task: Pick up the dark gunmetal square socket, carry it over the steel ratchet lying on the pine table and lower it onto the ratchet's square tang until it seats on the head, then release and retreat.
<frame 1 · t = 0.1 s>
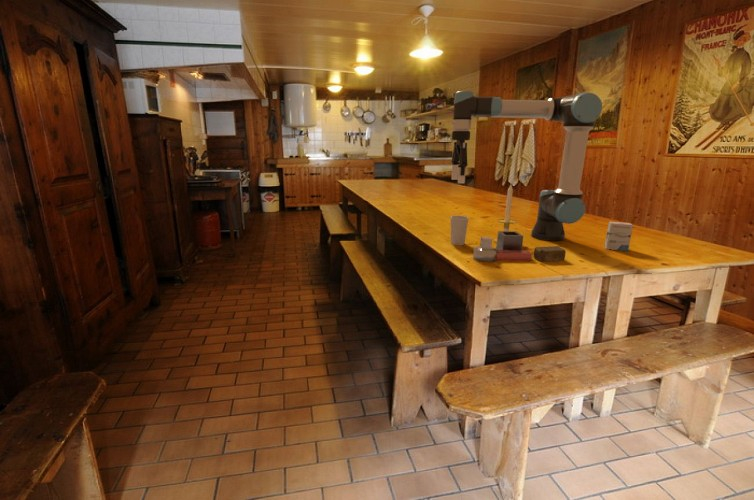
hand: (457, 181, 174), 28 cm above the table, fingers open, 13 cm apart
socket: (508, 251, 170), on the table
cup: (457, 243, 182), on the table
stone block: (548, 260, 161), on the table
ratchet: (504, 258, 160), on the table
ink box: (615, 249, 177), on the table
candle: (504, 241, 186), on the table
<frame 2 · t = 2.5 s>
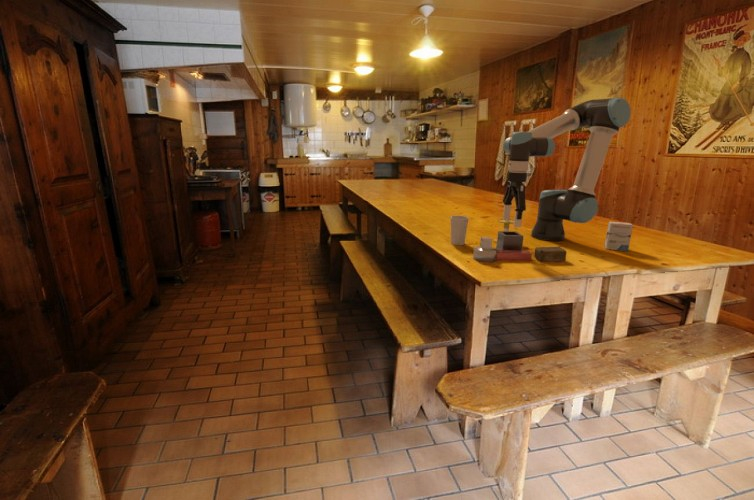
hand: (511, 223, 166), 12 cm above the table, fingers open, 13 cm apart
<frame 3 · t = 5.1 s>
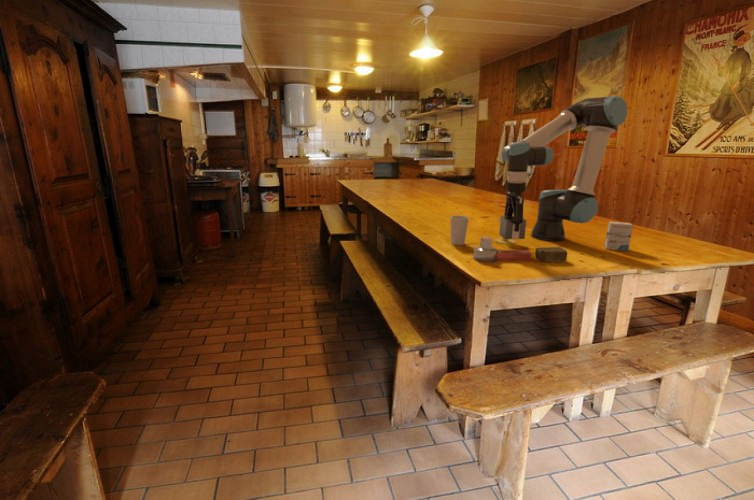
hand: (511, 235, 168), 7 cm above the table, fingers closed on socket, 8 cm apart
socket: (511, 236, 168), point 7 cm above the table, touching gripper
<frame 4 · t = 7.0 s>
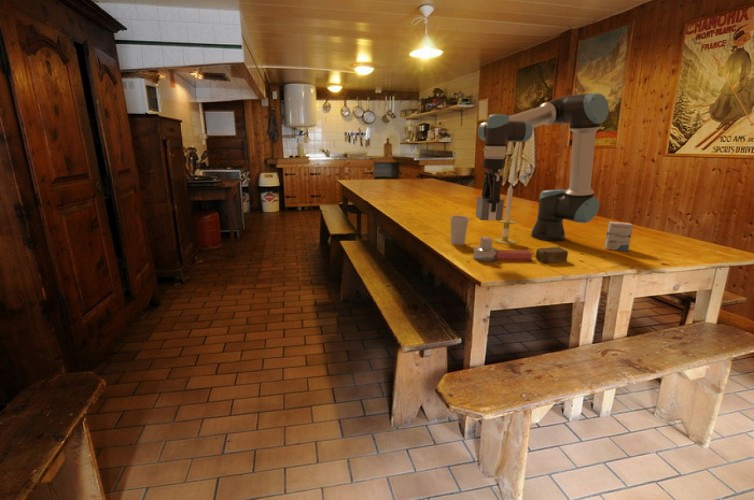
hand: (488, 217, 155), 17 cm above the table, fingers closed on socket, 8 cm apart
socket: (488, 218, 155), point 16 cm above the table, touching gripper
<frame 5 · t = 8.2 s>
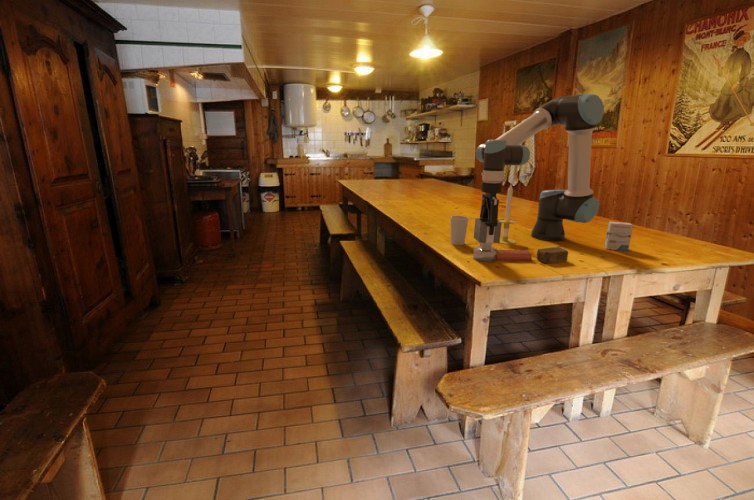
hand: (486, 239, 158), 8 cm above the table, fingers closed on socket, 8 cm apart
socket: (486, 240, 158), point 8 cm above the table, touching gripper
when the fingers open (5 cm above the table, at t = 9.2 s): socket stays where it is, resting on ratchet.
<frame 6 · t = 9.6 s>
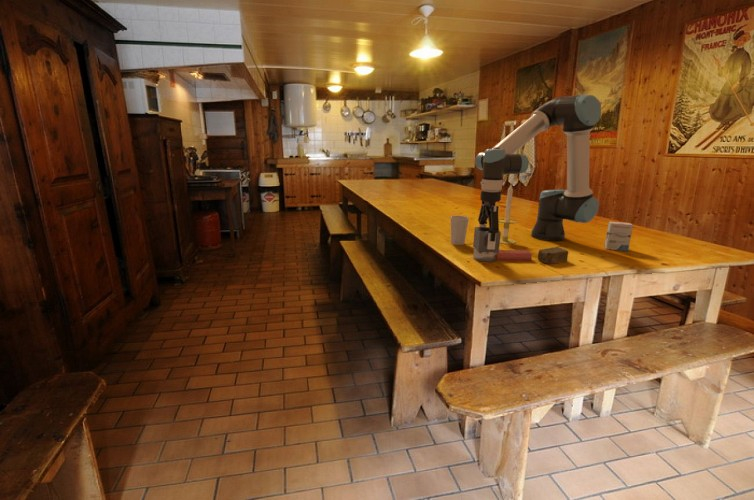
hand: (486, 244, 158), 6 cm above the table, fingers open, 13 cm apart
socket: (485, 249, 159), point 4 cm above the table, touching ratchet
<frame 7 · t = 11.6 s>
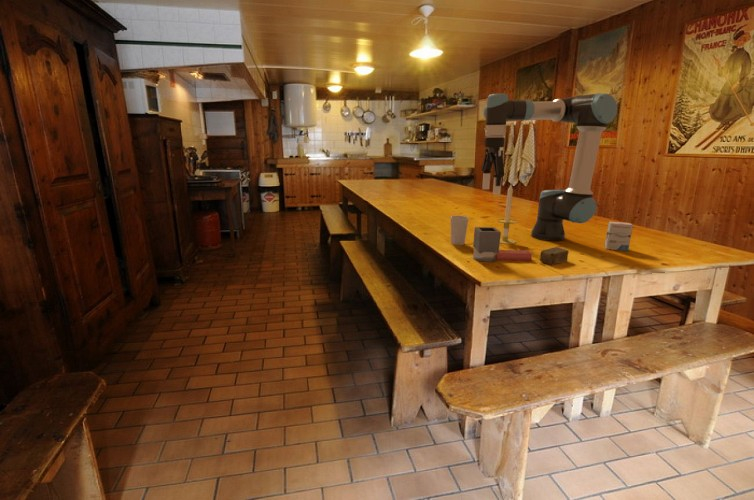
hand: (490, 191, 160), 26 cm above the table, fingers open, 13 cm apart
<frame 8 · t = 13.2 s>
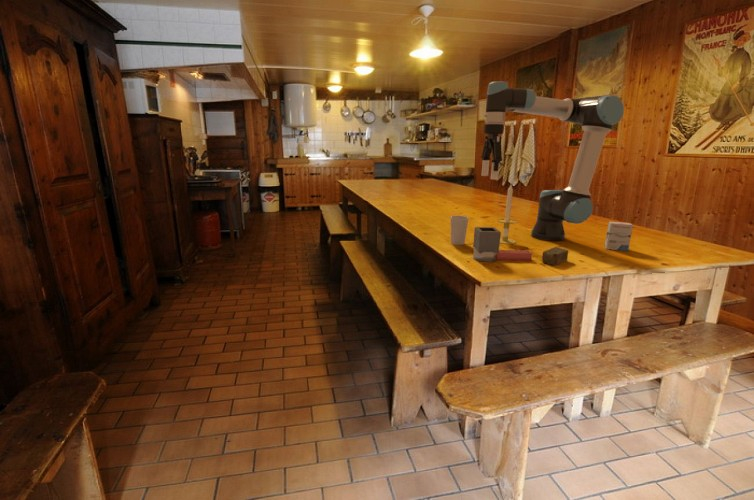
hand: (489, 177, 165), 31 cm above the table, fingers open, 13 cm apart
at the end: socket 0.0 cm from the target spot on the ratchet, point 4.0 cm above the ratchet's base; socket tilted 0° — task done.
